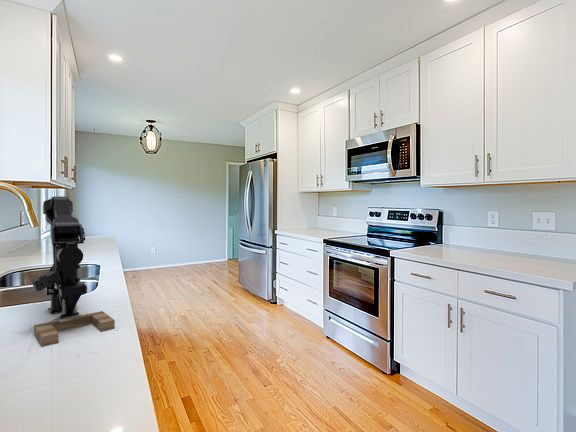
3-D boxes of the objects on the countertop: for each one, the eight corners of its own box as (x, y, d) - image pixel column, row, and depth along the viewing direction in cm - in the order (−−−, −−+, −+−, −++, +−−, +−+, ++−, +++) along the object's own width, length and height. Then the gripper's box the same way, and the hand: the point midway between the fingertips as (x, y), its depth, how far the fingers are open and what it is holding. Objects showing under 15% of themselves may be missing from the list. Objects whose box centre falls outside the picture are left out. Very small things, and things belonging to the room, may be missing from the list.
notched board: (34, 334, 87) (34, 323, 87) (102, 318, 100) (102, 309, 99) (41, 346, 80) (41, 335, 79) (114, 328, 92) (114, 318, 92)
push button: (51, 327, 92) (51, 293, 92) (55, 321, 97) (55, 289, 97) (79, 323, 95) (78, 290, 95) (81, 318, 100) (80, 286, 100)
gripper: (27, 261, 96) (28, 311, 96) (39, 270, 83) (39, 328, 84) (70, 257, 104) (71, 303, 105) (87, 264, 91) (87, 317, 92)
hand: (67, 312), depth 96 cm, fingers closed on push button, 4 cm apart
